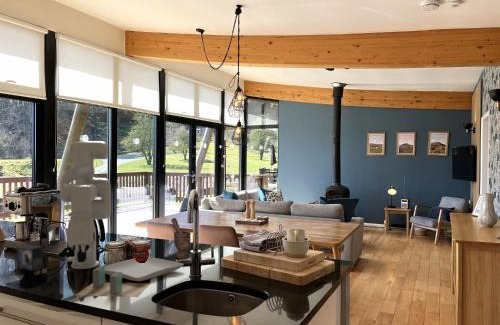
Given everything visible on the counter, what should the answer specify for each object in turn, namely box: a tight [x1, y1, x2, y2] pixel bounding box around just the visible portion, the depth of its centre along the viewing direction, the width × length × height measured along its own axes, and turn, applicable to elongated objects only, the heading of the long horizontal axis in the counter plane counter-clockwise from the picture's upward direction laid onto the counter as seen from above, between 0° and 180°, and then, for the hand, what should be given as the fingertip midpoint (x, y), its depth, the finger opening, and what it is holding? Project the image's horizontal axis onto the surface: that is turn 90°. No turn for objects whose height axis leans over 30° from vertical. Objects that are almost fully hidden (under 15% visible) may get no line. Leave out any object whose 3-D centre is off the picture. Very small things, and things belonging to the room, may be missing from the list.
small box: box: [15, 244, 44, 272], centre depth 195 cm, size 11×6×10 cm, turn 68°
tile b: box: [109, 272, 123, 295], centre depth 159 cm, size 2×6×7 cm, turn 176°
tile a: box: [92, 265, 106, 288], centre depth 167 cm, size 2×6×7 cm, turn 176°
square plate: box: [103, 256, 185, 282], centre depth 186 cm, size 27×27×4 cm
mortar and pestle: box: [170, 217, 192, 260], centre depth 216 cm, size 12×9×20 cm
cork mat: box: [74, 282, 152, 298], centre depth 163 cm, size 24×16×1 cm, turn 86°
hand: (81, 261), depth 167 cm, fingers closed
